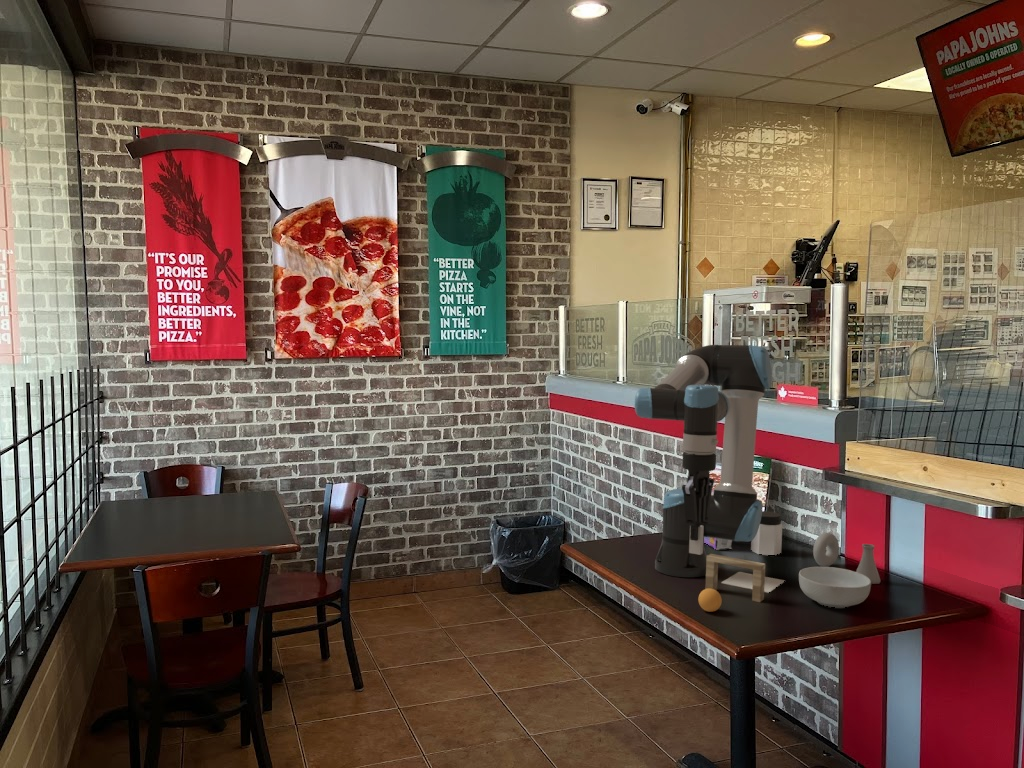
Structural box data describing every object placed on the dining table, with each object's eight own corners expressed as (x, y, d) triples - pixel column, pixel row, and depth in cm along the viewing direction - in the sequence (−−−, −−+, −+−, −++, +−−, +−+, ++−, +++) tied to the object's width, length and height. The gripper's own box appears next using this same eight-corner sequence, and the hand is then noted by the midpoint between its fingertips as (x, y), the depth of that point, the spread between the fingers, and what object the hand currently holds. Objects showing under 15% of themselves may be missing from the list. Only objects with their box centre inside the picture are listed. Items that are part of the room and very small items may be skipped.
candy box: (732, 550, 258) (734, 498, 257) (715, 551, 257) (717, 498, 256) (713, 539, 272) (714, 489, 271) (696, 539, 270) (698, 489, 269)
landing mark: (721, 583, 224) (721, 582, 224) (739, 572, 234) (739, 571, 234) (769, 592, 216) (769, 592, 216) (785, 581, 227) (785, 580, 227)
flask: (883, 585, 225) (885, 549, 224) (855, 583, 226) (857, 547, 225) (877, 578, 232) (879, 542, 231) (850, 576, 233) (851, 541, 233)
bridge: (759, 602, 209) (761, 566, 208) (705, 590, 217) (706, 556, 216) (763, 599, 211) (765, 563, 210) (709, 587, 219) (711, 553, 219)
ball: (694, 611, 200) (695, 589, 200) (703, 605, 205) (704, 584, 205) (715, 616, 197) (716, 594, 197) (724, 610, 202) (725, 588, 201)
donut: (830, 562, 247) (832, 529, 246) (840, 565, 244) (842, 531, 243) (809, 567, 241) (811, 533, 240) (820, 570, 238) (821, 536, 237)
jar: (770, 557, 251) (772, 518, 250) (746, 552, 256) (748, 513, 256) (785, 552, 257) (787, 514, 256) (761, 547, 263) (762, 509, 262)
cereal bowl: (787, 603, 208) (788, 575, 208) (811, 588, 221) (812, 562, 220) (857, 619, 197) (858, 590, 197) (878, 603, 210) (879, 575, 210)
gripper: (703, 457, 183) (699, 562, 185) (725, 450, 194) (722, 550, 195) (672, 453, 188) (668, 556, 189) (695, 447, 198) (692, 544, 200)
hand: (695, 553), depth 192 cm, fingers closed
